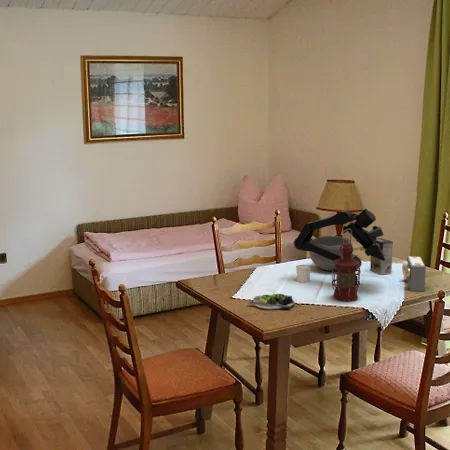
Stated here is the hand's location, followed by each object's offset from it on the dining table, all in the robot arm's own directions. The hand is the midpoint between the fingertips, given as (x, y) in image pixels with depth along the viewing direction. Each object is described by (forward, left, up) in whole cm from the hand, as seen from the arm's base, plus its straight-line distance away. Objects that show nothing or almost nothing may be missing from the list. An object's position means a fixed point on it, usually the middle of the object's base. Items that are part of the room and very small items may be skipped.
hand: (384, 258), depth 280 cm
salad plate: (-48, -24, -14) cm, 55 cm away
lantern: (-18, -15, -14) cm, 27 cm away
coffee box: (+3, +26, -14) cm, 30 cm away
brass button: (+11, -1, -8) cm, 14 cm away
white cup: (-35, +10, -14) cm, 39 cm away
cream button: (+12, +11, -8) cm, 18 cm away
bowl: (-21, +31, -14) cm, 40 cm away
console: (+15, +5, -14) cm, 21 cm away
